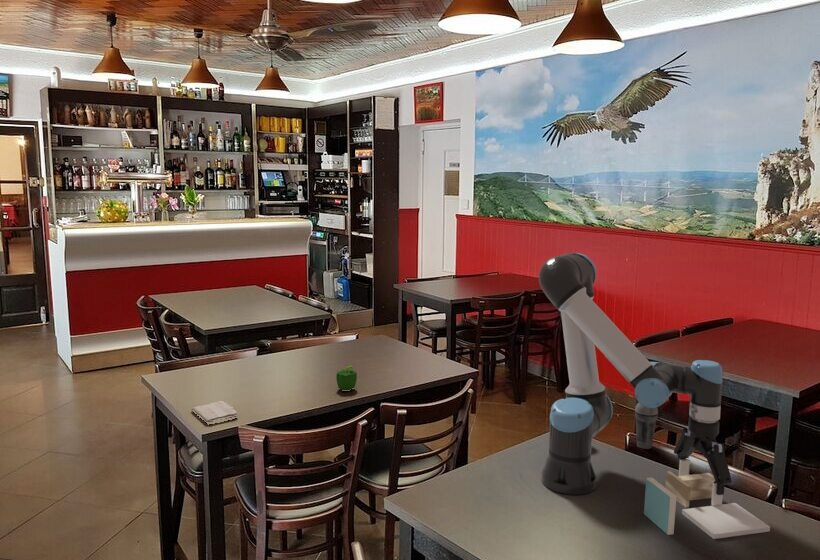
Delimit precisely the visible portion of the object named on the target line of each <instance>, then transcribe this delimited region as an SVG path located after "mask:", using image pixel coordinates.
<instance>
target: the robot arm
mask: <svg viewBox="0 0 820 560" xmlns="http://www.w3.org/2000/svg"><path fill="white" fill-rule="evenodd" d="M538 272H539V273H538V282H539V286H540V288H541V290H542V292H543V293H544V294H545V296H546V298H547V299H548V300H549V301H550V302H551V304H552V305H553V306H554V307H555V308H556V309H557V310H558V311H559V312H560V316H561V323H562V332H563V340H564V348H565V350H564V351H565V356H566V365H567V373H568V380H569V384H568V386H567V387H566V388H565V390H564V392H565V398H560V399H558V400H555V402H554V403H553V404H552V405H551V409H550V413H549V434H548V435H549V437H548V455H547V458H546V461H545V463H544V465H543V468H542V470H541V479H540V480H541V483H542V484H543V485H544V486H545V487H546V488H548V489H549V490H551V491H554V492H556V493H559V494H563V495H570V496H573V495H574V496H579V495H586V494H590V493H592V492H593V491H594V490H595V489H596V488H597V487H596V486H597V477H596V473H595V469H594V467H593V466H594V465H593V462H592V447H593V446H592V442H593V438H594V437H595V436H596V435H598V434H599V433H600V432H601V431H602V430H603V429H605V428H606V427H607V425H608V424H610V423H609V422H610V421H611V419H612V417H613V412H614V407H613V402H612V401H611V398H610V397H609V396H608V395H607V391H606V386H605V385H603V383H601V382H600V380H599V379H600V378H599V371H598V362H597V353H596V348H597V349H598V350H599V351H600V352H601V353H602V354H603V355H604V357H605V358H606V359H607V360H608V361H609V362H610V363H611V364H612V365H613V366H614V368H615V369H616V370H617V371H618V372H619V373H620V374H621V375H622V376H623V377H624V379H625V380H626V381H627V382H628V383H629V384H630V385H631V386H632V387H633V389H634V397H635V399H636V400H637V403H640V404H642V405H643V406H645V407H648V408H655V407H657V408H658V407H660V406H661V405H663V404H664V403H666V402H667V401H668V399H669V398H670V397H671V396H672V395H673V393H675V394H681V395H689V410H688V411H689V413H688V415H689V417H688V424H687V425H688V426H685V427H684V426H683V427H682V432H681V435H680V437H679V439H678V442H677V444H676V446H675V447H674V450H673V453H674V455H676V456H677V459H678V476H684V475H690V465H691V464H690V463H691V460H690V456H691V455H692V454H693V453H694V452H695V451H698V452H699V453H700V454H702V455H703V458H705V459H706V460H707V463H708V467H709V469H710V471H711V475H713V476H714V479H715V481H713V485H712V498H710V499H711V501H710V506H716V505H722V504H723V497H724V496H723V495H724V494H725V487H726V486H725V485H726V484H731V483H732V482H733V481H732V477H731V473H730V468H729V465H728V461H727V460H728V459H727V458H726V457H727V456H726V454H725V449H726V448H725V446H726V445H725V444H724V443H719V442H716V437H718V435H719V433H720V421H719V420H721V409H722V408H721V404H722V403H721V401H722V391H723V390H722V389H723V382H724V381H723V366H722V365H721V364H720V363H719V362H716V361H713V360H707V359H704V360H703V359H696V360H694V361H692V363H691V365H690V366H686V365H678V364H672V363H665V362H662V361H658V362H657V361H649V360H648V358H646V356H644V354H642V352H641V351H640V350H639V349H638V348H637V347H636V345H634V343H633V342H631V340H630V339H629V338H628V337H627V336H626V335H625V334H624V333H623V332H622V331H621V330H620V328H618V327H617V325H616V324H615V322H613V321H612V320H611V319H610V318H609V316H608V315H607V314H606V313H605V312H604V311H603V310H602V308H601V307H599V306H598V304H596V303H595V301H593V299H594V297H595V292H594V284H595V282H596V278H597V269H596V265H595V263H594V261H593V260H591V258H590V257H589V256H587V255H586V254H583V253H579V252H569V253H564V254H560V255H558V256H557V255H556V256H552V257H550V258H549V259H547V260H546V261H545V262H544V263H543V264H542V266H541V267H540V270H539V271H538Z"/></svg>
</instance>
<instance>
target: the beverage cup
mask: <svg viewBox="0 0 820 560" xmlns="http://www.w3.org/2000/svg"><path fill="white" fill-rule="evenodd" d="M634 416H635V428H636V429H635V431H636V437H635V438H636V446H637V448H640V449H643V450H649V449H652V448H653V442H654V437H655V430H656V425H657V420H658V418H659V417H658V416H659V409H658V407H655V408H648V407H645V406H643V405H642V404H640V403H639V402H637V404H636V406H635V409H634Z"/></svg>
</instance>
